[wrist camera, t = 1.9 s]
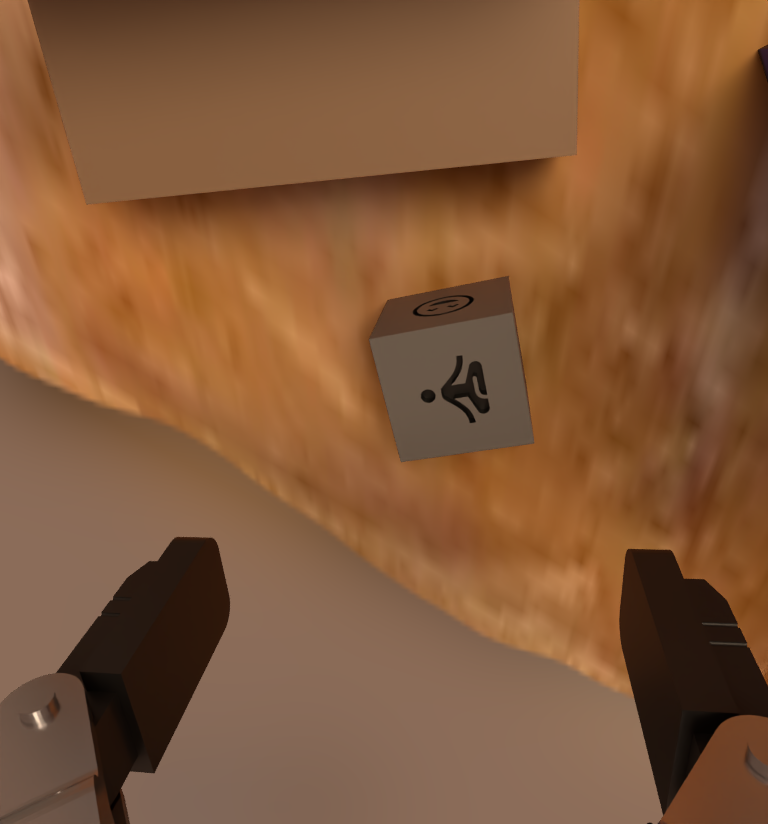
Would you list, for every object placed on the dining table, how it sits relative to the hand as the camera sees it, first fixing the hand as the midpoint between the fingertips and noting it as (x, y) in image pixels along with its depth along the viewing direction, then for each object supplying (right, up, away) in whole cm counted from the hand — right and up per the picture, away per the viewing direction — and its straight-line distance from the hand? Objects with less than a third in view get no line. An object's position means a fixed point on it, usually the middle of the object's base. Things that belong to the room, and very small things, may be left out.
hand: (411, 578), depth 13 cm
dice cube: (+3, +6, +15) cm, 17 cm away
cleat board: (-2, +16, +11) cm, 19 cm away
